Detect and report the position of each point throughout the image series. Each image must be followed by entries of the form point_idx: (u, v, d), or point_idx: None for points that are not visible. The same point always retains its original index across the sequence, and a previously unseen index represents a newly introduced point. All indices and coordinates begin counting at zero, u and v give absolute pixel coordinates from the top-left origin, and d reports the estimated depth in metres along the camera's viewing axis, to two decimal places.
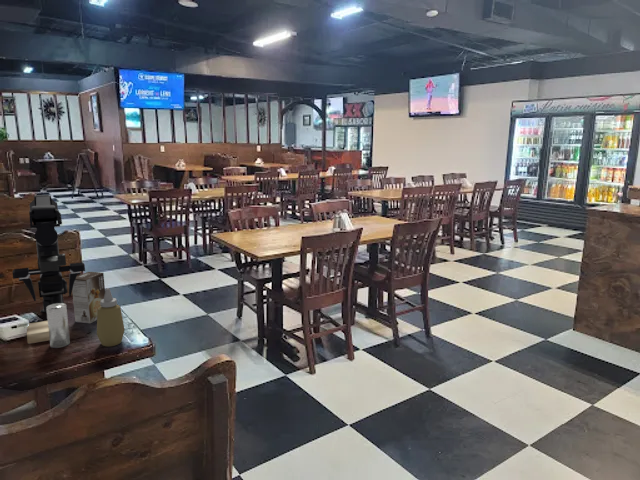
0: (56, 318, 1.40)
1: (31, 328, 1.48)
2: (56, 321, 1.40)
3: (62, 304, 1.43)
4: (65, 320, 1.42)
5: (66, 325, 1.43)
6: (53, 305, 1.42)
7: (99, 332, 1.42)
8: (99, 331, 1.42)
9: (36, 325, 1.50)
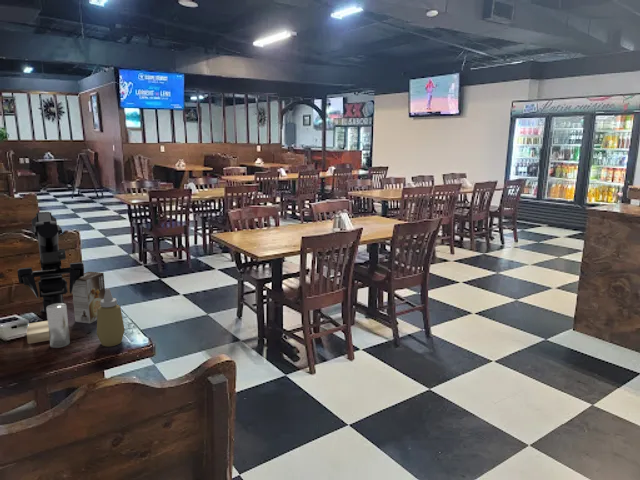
0: (56, 318, 1.40)
1: (31, 328, 1.48)
2: (56, 321, 1.40)
3: (62, 304, 1.43)
4: (65, 320, 1.42)
5: (66, 325, 1.43)
6: (53, 305, 1.42)
7: (99, 332, 1.42)
8: (99, 331, 1.42)
9: (36, 325, 1.50)
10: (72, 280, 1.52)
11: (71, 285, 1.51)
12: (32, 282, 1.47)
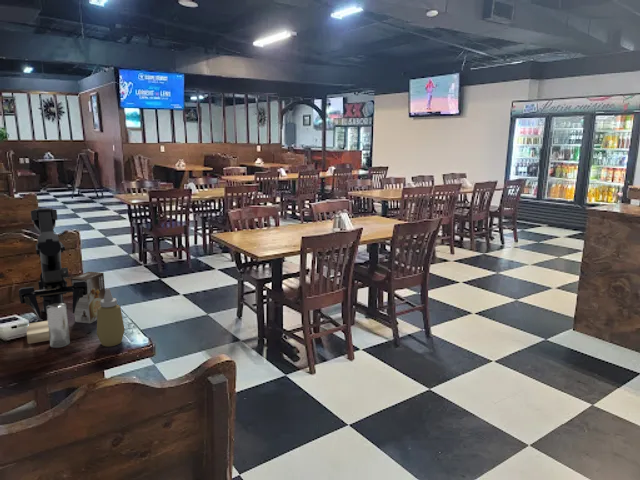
0: (56, 317, 1.40)
1: (31, 328, 1.48)
2: (56, 320, 1.40)
3: (62, 304, 1.43)
4: (65, 320, 1.42)
5: (66, 325, 1.43)
6: (53, 305, 1.42)
7: (99, 332, 1.42)
8: (99, 331, 1.42)
9: (36, 325, 1.50)
10: (75, 299, 1.47)
11: (74, 304, 1.47)
12: (34, 302, 1.42)
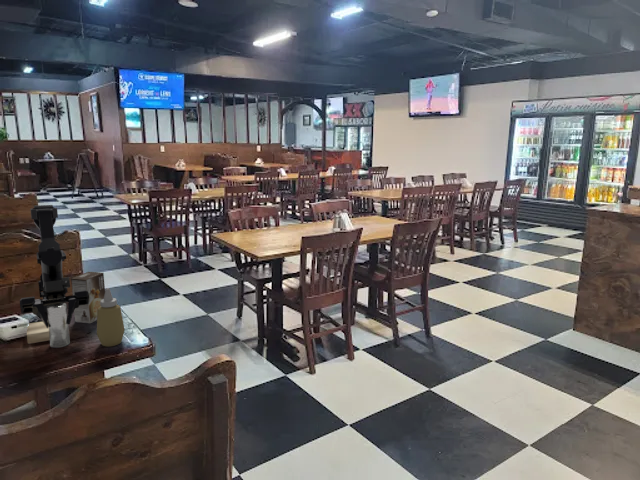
0: (56, 317, 1.40)
1: (31, 328, 1.48)
2: (56, 320, 1.40)
3: (62, 304, 1.43)
4: (65, 320, 1.42)
5: (66, 325, 1.43)
6: (53, 305, 1.43)
7: (99, 332, 1.42)
8: (99, 331, 1.42)
9: (36, 325, 1.50)
10: (70, 310, 1.45)
11: (69, 315, 1.44)
12: (41, 311, 1.41)
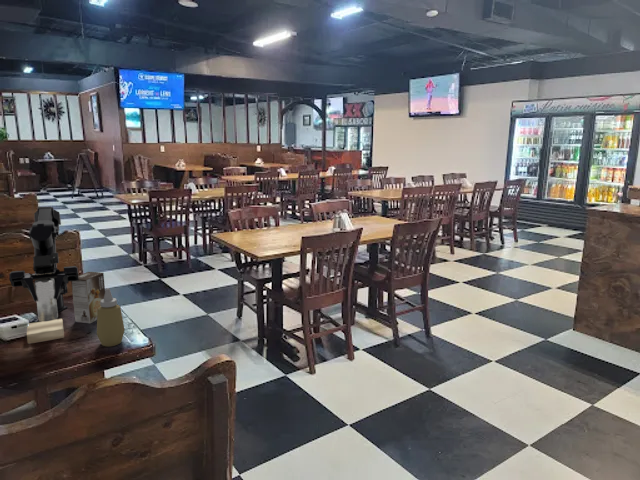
0: (43, 292, 1.42)
1: (31, 328, 1.48)
2: (43, 295, 1.43)
3: (50, 279, 1.46)
4: (52, 295, 1.45)
5: (54, 300, 1.45)
6: (42, 279, 1.45)
7: (99, 332, 1.42)
8: (99, 331, 1.42)
9: (36, 325, 1.50)
10: (59, 285, 1.47)
11: (57, 290, 1.46)
12: (30, 285, 1.44)
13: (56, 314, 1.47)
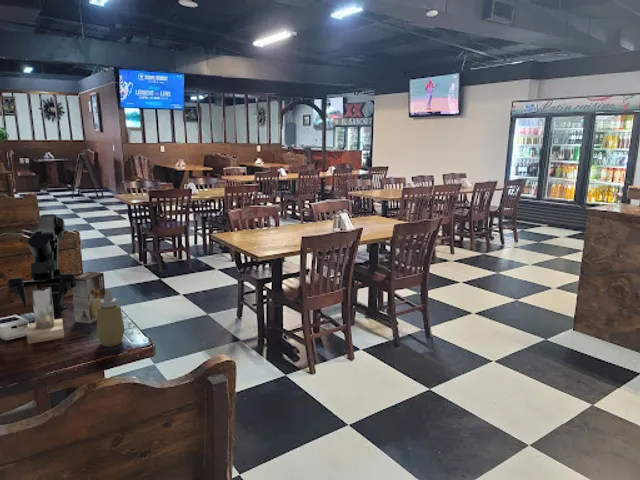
0: (40, 300, 1.45)
1: (31, 328, 1.48)
2: (39, 303, 1.46)
3: (47, 288, 1.49)
4: (49, 303, 1.48)
5: (50, 308, 1.48)
6: (39, 288, 1.48)
7: (99, 332, 1.42)
8: (99, 331, 1.42)
9: None
10: (61, 291, 1.50)
11: (60, 296, 1.49)
12: (21, 292, 1.46)
13: (53, 322, 1.50)
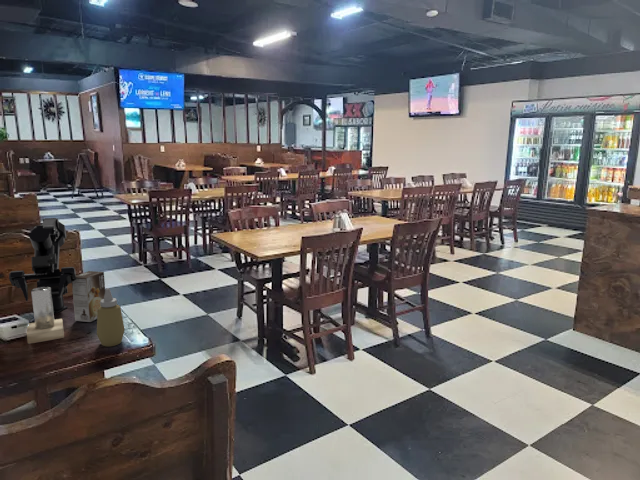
0: (39, 300, 1.45)
1: (31, 328, 1.48)
2: (39, 303, 1.46)
3: (47, 288, 1.49)
4: (49, 303, 1.47)
5: (50, 308, 1.48)
6: (38, 288, 1.48)
7: (99, 332, 1.42)
8: (99, 331, 1.42)
9: None
10: (62, 284, 1.53)
11: (60, 289, 1.52)
12: (22, 285, 1.48)
13: (52, 322, 1.50)
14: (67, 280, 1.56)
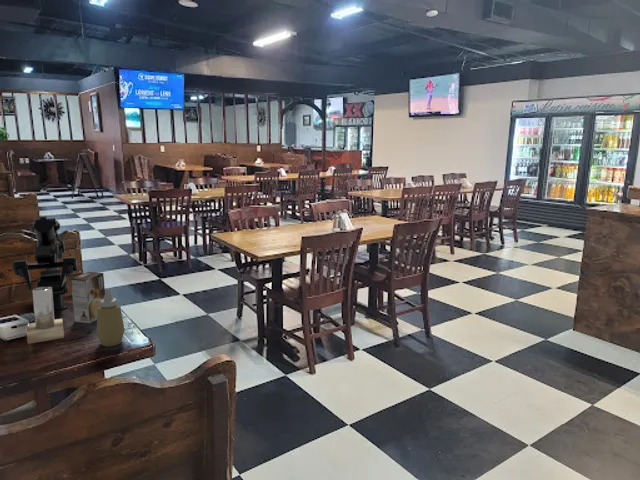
0: (41, 300, 1.46)
1: (31, 328, 1.48)
2: (40, 303, 1.46)
3: (48, 287, 1.49)
4: (50, 303, 1.48)
5: (51, 308, 1.48)
6: (40, 288, 1.48)
7: (99, 332, 1.42)
8: (99, 331, 1.42)
9: None
10: (64, 274, 1.58)
11: (62, 278, 1.57)
12: (26, 274, 1.54)
13: (53, 322, 1.50)
14: (69, 270, 1.61)
